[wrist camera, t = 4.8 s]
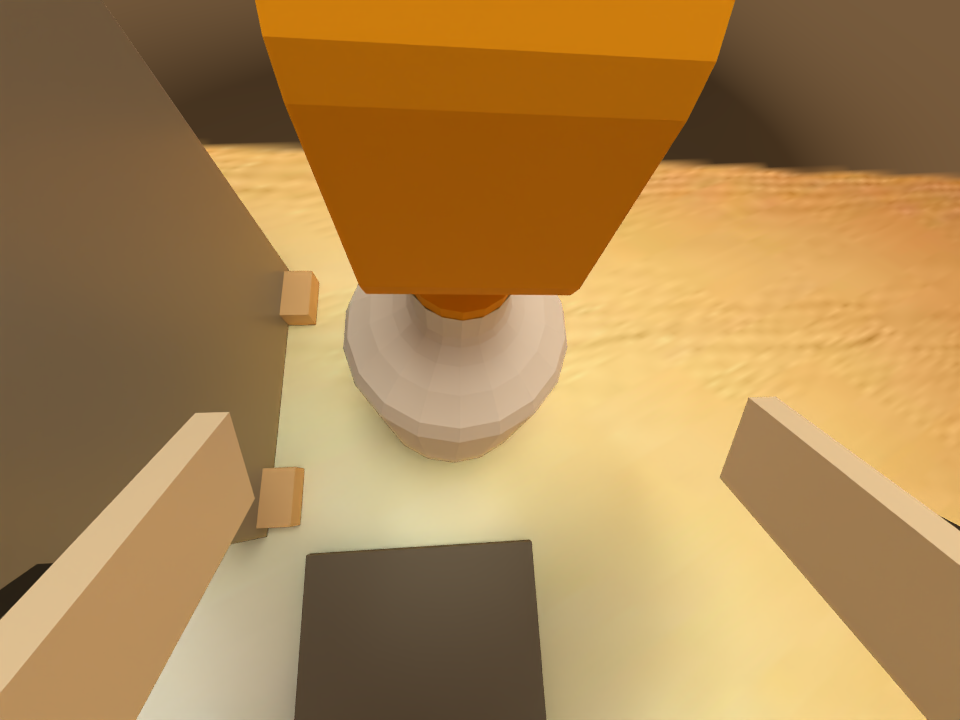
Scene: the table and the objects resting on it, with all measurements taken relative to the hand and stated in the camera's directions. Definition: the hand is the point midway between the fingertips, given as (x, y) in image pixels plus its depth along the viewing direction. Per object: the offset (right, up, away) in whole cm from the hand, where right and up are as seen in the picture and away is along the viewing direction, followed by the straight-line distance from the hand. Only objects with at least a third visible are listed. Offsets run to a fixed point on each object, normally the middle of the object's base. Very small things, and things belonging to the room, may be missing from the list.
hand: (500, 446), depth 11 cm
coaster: (-3, -14, +10) cm, 18 cm away
